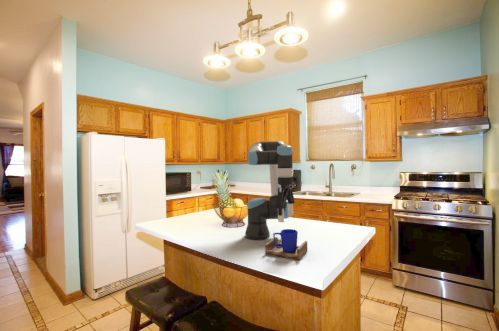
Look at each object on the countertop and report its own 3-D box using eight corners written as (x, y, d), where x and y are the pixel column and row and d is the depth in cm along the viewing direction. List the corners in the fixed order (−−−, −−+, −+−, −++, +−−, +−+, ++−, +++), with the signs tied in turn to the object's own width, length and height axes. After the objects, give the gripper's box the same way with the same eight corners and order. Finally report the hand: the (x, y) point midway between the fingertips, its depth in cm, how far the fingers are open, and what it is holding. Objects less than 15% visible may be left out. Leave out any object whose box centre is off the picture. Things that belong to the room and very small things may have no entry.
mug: (272, 248, 128) (272, 229, 128) (296, 248, 128) (296, 228, 128) (274, 254, 120) (273, 233, 120) (299, 254, 120) (298, 233, 120)
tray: (265, 254, 123) (265, 244, 123) (275, 246, 135) (275, 237, 135) (299, 260, 115) (299, 249, 115) (307, 251, 127) (307, 241, 127)
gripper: (283, 178, 112) (284, 225, 113) (299, 175, 134) (300, 214, 135) (268, 178, 116) (269, 223, 116) (286, 174, 138) (287, 213, 138)
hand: (285, 218), depth 125 cm, fingers open, 13 cm apart
